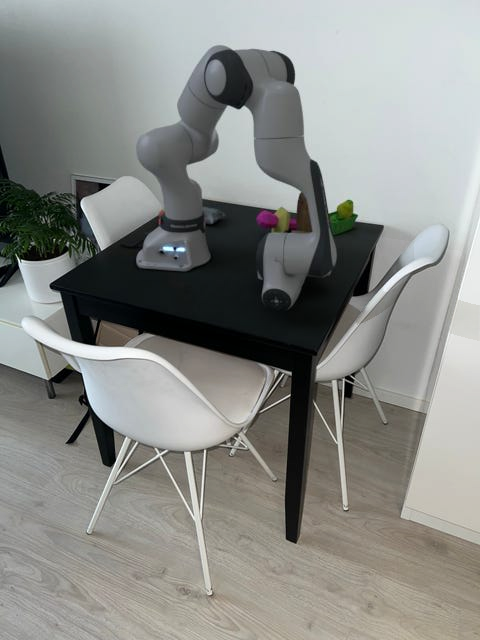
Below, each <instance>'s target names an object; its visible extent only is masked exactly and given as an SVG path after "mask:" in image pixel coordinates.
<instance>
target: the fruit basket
mask: <svg viewBox="0 0 480 640" xmlns="http://www.w3.org/2000/svg"><path fill="white" fill-rule="evenodd" d="M328 213H329V219H330V225H331V230H332V235H333V236H337V235H338V234H342V233H344V232H347V231H350V230H352V229H353V227H354V226H355V223H356V221H357V218H359V217H358V216H359V214H357V213H354V201H353V200H352V199H346V200H345V201H343V202H341V203H340V204H338V205H337V206H336V210H335V211H332V212H328Z"/></svg>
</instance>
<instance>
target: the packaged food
mask: <svg viewBox="0 0 480 640" xmlns="http://www.w3.org/2000/svg"><path fill="white" fill-rule="evenodd" d="M203 212H204V215H205V225H213V224H215V223H216V222H218V221H221V220H222V219H223V218H224V217H226V214H225V212H223V211H222V210H220V209H218V208H214V207H208V206H203Z"/></svg>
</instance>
